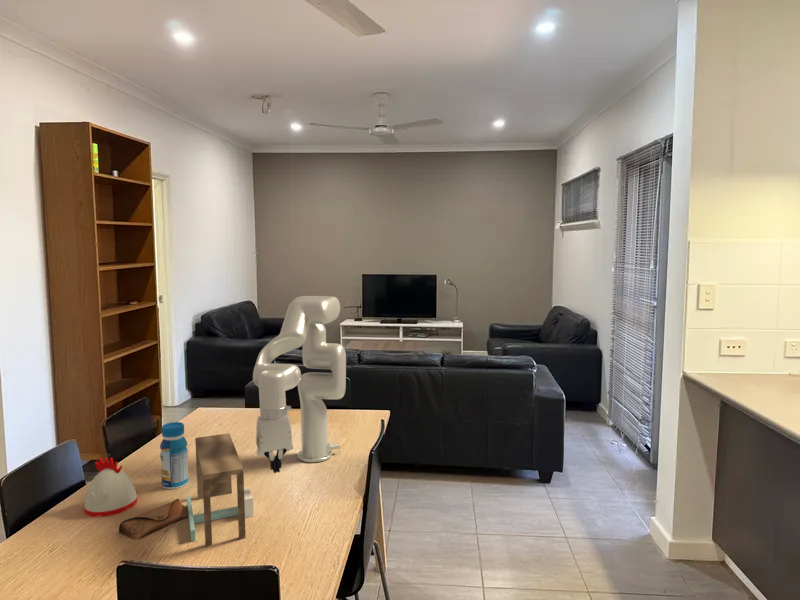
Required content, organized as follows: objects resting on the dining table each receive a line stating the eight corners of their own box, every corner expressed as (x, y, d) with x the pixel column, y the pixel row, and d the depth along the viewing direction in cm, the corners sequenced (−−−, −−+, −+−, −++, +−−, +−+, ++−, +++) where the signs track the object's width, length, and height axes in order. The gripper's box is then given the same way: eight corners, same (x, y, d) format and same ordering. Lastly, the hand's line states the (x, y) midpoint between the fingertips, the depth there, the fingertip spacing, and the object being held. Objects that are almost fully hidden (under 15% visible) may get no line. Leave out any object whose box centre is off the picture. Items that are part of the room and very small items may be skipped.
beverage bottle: (184, 489, 170) (181, 428, 169) (157, 490, 170) (154, 429, 168) (192, 478, 179) (190, 420, 177) (166, 479, 178) (164, 421, 176)
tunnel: (231, 492, 168) (229, 433, 167) (245, 538, 141) (243, 468, 139) (197, 498, 164) (195, 437, 162) (205, 547, 137) (202, 475, 135)
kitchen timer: (105, 494, 167) (102, 448, 166) (146, 496, 166) (144, 450, 164) (73, 516, 153) (70, 466, 152) (118, 518, 152) (115, 468, 151)
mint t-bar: (245, 494, 166) (245, 478, 165) (257, 527, 146) (256, 508, 146) (187, 505, 159) (186, 488, 158) (191, 541, 139) (190, 521, 139)
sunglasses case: (135, 542, 139) (127, 518, 140) (123, 548, 143) (116, 524, 144) (195, 514, 154) (188, 492, 155) (184, 520, 157) (176, 499, 159)
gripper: (295, 404, 163) (297, 461, 166) (245, 412, 157) (248, 470, 160) (301, 412, 156) (303, 471, 159) (249, 420, 150) (252, 481, 153)
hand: (276, 470), depth 159 cm, fingers closed
